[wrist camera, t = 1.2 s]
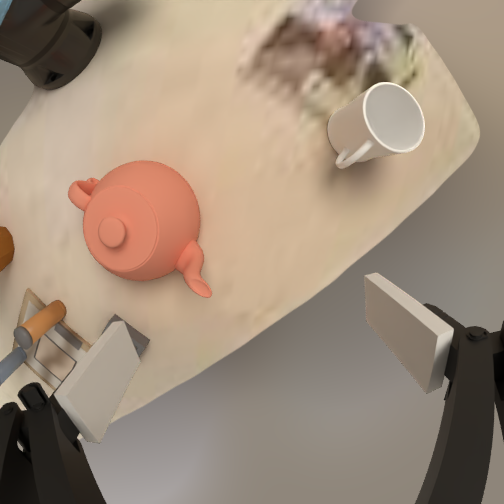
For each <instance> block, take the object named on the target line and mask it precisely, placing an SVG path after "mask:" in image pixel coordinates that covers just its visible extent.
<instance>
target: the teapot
mask: <svg viewBox="0 0 504 504" xmlns="http://www.w3.org/2000/svg"><path fill="white" fill-rule="evenodd" d="M68 197H69V199H70V200H71V202H72V203H73V204H74V205H75V206H77V207H78V208H79V209H81V210H83V211H85V212H84V218H83V232H84V238H85V241H86V244H87V246H88V249H89V251H90V252H91V254H92V255H93V257H94V258H95V259H96V260H97V261H98V263H99V264H101V265H102V266H103V267H104V268H105V269H106V270H108V271H110V272H111V273H113V274H115V275H117V276H119V277H122V278H125V279H129V280H135V281H145V280H152V279H156V278H159V277H162V276H164V275H167V274H169V273H170V272H172V271H174V270H175V269H177V270H178V271H180V272H181V273H182V274H183V275H184V280H185V282H186V283H187V285H188V286H189V287H190V288H191V289H192V290H193V291H194V292H195V293H197V294H198V295H200V296H202V297H206V298H209V297H211V295H212V291H211V289H210V287H209V286H208V284H207V283H206V282H205V281H204V280H203V279H202V277H201V275H200V272H201V269H202V266H203V262H204V255H203V251H202V249H201V248H200V246H199V245H198V243H197V242H196V241H197V238H198V234H199V228H200V212H199V206H198V202H197V199H196V196H195V194H194V192H193V190H192V188H191V187H190V185H189V184H188V183H187V181H186V180H185V179H184V178H183V177H182V176H181V175H180V174H179V173H178V172H176V171H175V170H174V169H172V168H170V167H168V166H166V165H164V164H161V163H158V162H153V161H134V162H130V163H126V164H124V165H121V166H119V167H117V168H115V169H114V170H112V171H110V172H109V173H108V174H106V175H105V176H104V177H103V178H102V179H101V180H100V181H99V180H97V179H95V178H89V179H88V180H87V181H80V180H79V181H75V182H73V183H72V185H71V186H70V188H69V191H68Z"/></svg>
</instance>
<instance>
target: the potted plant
mask: <svg viewBox="0 0 504 504" xmlns="http://www.w3.org/2000/svg"><path fill="white" fill-rule="evenodd" d="M13 254H14V244H13V239H12V235H11V234H10V233H9V231H8V230H7V228H6V227H1V226H0V272H1V271H2V270H3V269H4V268H5V267H6V266H7V265H8V264H9V263H10V262H11V261H12V259H13Z"/></svg>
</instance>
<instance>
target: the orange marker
mask: <svg viewBox="0 0 504 504" xmlns="http://www.w3.org/2000/svg"><path fill="white" fill-rule="evenodd" d="M65 315H66V307H65V305H64V304H63V303H62V302H61V301H59V300H56V301H54V302H52V303H50V304H49V305H48V306H46V307H45V308H43V309H42V310H41V311H39V312H38V313H37V314H35V315H34V316H33V317H31V318H30V319H29V320H27V321H26V322H25V323H23V324H22V325H21V326H19V327H17V328H16V329H15V330H14V337H15V340H16V342H17V343H18V345H19V346H20V347H21V348H23V349H25V350H28V349H29V348H30V347H31V346H32V345H33V344H34V343H35V342H36V341H37V340H38V339H39V338H41V337H42V336H43V335H44V334H45V333H46V332H47V331H49V330H50V329H51V328H52V327H53V326H54V325H55V324H57V323H58V322H59V321H60V320H61V319H62V318H63V317H64V316H65Z"/></svg>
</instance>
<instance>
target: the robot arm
mask: <svg viewBox="0 0 504 504" xmlns="http://www.w3.org/2000/svg"><path fill="white" fill-rule="evenodd" d="M80 1H81V0H0V59H1V60H4V61H6V62H9V63H11V64H14V65H16V66H19V67H21V69H22V70H23V71H24V73H25V74H26V75H27V77H28V78H29V79H30V80H31V82H32V83H33V84H34V85H36V86H38V87H41V88H43V89H48V90H50V89H56V88H59V87H61V86H63V85H65V84H67V83H68V82H70V81H71V80H72V79H74V78H75V77H76V76H77V75H78V74H79V73H80V72H81V71H82V70H83V69H84V68H85V67H86V66H87V65H88V63H89V62H90V60H91V59H92V58H93V56H94V54H95V52H96V51H97V48H98V46H99V43H100V40H101V27H100V24H99V23H98V22H97V21H96V20H95V19H94V18H93V17H92V16H91V15H89V14H87V13H83V12H80V11H76V10H72V9H70V8H71V7H73V6H74V5H75V4H77V3H78V2H80ZM364 280H365V299H366V322H367V323H368V324H369V325H370V326H371V327H372V329H373V330H374V331H375V332H376V333H377V334H378V336H379V337H380V338H381V339H382V340H383V342H384V343H385V344H386V345H387V346H388V347H389V349H390V350H391V351H392V352H393V353H394V354H395V356H396V357H397V358H398V359H399V361H400V362H401V363H402V364H403V366H404V367H405V368H406V369H407V370H408V372H409V373H410V374H411V375H412V376H413V378H414V379H415V380H416V381H417V383H418V384H419V385H420V387H421V388H422V389H423V390H424V392H425V393H426V394H427V393H430V392H432V391H434V390H436V389H438V388H440V387H442V383H443V379H444V375H445V376H446V377H447V378H448V379H449V380H450V381H449V385H448V388H447V392H446V395H445V398H444V400H446V401H445V406H444V412H443V416H442V421H441V425H440V430H439V434H438V438H437V441H436V445H435V449H434V452H433V455H432V459H431V462H430V465H429V468H428V471H427V474H426V477H425V480H424V482H423V485H422V488H421V490H420V493H419V495H418V498H417V500H416V503H415V504H481V502H482V498H483V494H484V489H485V485H486V480H487V475H488V469H489V463H490V456H491V448H492V438H493V427H494V401H495V404H496V408H497V412H498V416H499V421H500V425H501V430H502V435H503V440H504V321H503V324H502V328H501V331H497V332H493V333H489V332H488V331H487V330H486V329H484V328H481V327H477V326H473V327H467V328H465V327H464V326H463V325H461V324H460V323H458V322H457V321H456V320H454V319H453V318H452V317H450V316H448V315H447V314H446V313H444V312H443V311H442V310H440V309H439V308H437V307H436V306H433V305H430V304H427V303H426V304H424V305H422V304H420V303H419V302H418V301H416V300H415V299H414V298H412V297H411V296H409V295H408V294H407V293H405V292H404V291H402V290H401V289H400V288H398V287H397V286H395V285H394V284H393V283H391V282H390V281H388V280H387V279H385V278H384V277H383V276H381V275H380V274H378V273H373V274H369V275H365V276H364ZM140 362H141V361H140V359H139V357H138V354H137V352H136V350H135V347H134V345H133V342H132V340H131V338H130V335H129V333H128V330H127V328H126V325H125V322H124V321H117V322H112V324H111V325H110V326H109V327H108V328H107V329H106V330H105V332H104V333H103V334H102V335H101V336H100V338H99V339H98V340H97V341H96V342H95V343H94V345H93V346H92V347H91V348H90V349H89V351H88V352H87V353H86V354H85V356H84V357H83V358H82V359H81V360H80V362H79V363H78V364H77V365H76V367H75V368H74V369H73V370H71V371H70V372H69V373H68V375H67V376H66V377H65V379H64V380H63V381H62V382H61V384H60V385H59V386H58V387H57V389H56V390H55V391H54V392H53V394H52V395H51V396H50V398H48V396H47V395H46V393H45V391H44V390H43V388H42V386H41V385H40V384H39V383H37V382H33V383H30V384H27V385H26V386H24V387H23V388H22V389H21V390H20V391H19V393H18V397H19V398H20V400H21V402H22V403H23V405H24V406H25V408H26V409H27V410H24V411H21V409H20V408H19V406H18V405H17V403H15V402H10V403H6V404H4V405H3V407H2V408H1V409H0V504H106V502H105V500H104V498H103V496H102V494H101V492H100V489H99V487H98V485H97V483H96V480H95V478H94V476H93V473H92V471H91V469H90V466H89V464H88V461H87V459H86V456H85V453H84V450H83V448H82V445H81V443H80V441H79V440H78V439H77V436H78V435H79V433H81V435H82V436H83V437H84V439H85V440H86V441H87V442H93V443H100V442H101V440H102V438H103V436H104V434H105V432H106V429H107V427H108V425H109V423H110V421H111V419H112V417H113V415H114V413H115V411H116V409H117V407H118V405H119V403H120V401H121V399H122V397H123V395H124V393H125V391H126V389H127V387H128V385H129V383H130V381H131V379H132V377H133V375H134V373H135V371H136V369H137V368H138V366H139V364H140ZM17 441H18V442H19V443H20V445H21V446H22V447H23V452H22V451H21V450H20V449H19V448H18V445H17Z"/></svg>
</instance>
